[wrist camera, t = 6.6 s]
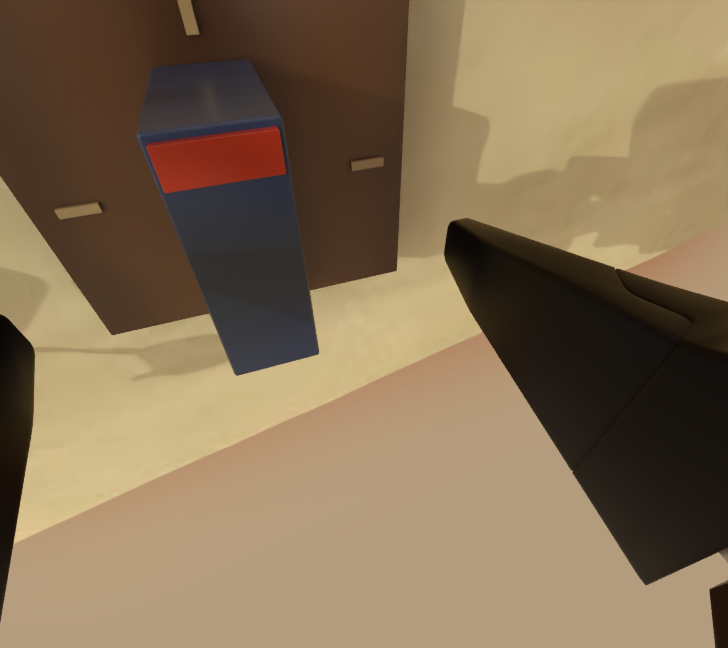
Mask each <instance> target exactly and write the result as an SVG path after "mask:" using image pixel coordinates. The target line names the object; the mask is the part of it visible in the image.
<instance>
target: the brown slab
mask: <svg viewBox="0 0 728 648" xmlns="http://www.w3.org/2000/svg"><path fill="white" fill-rule="evenodd" d="M408 10H409V0H0V176H1V177H2V179H3V180H4V182H5V183H6V185H7V186H8V187H9V189H10V190H11V192H12V193H13V195H14V196H15V197H16V199H17V200H18V202H19V203H20V205H21V206H22V207H23V209H24V210H25V212H26V213H27V215H28V216H29V217H30V219H31V220H32V222H33V223H34V225H35V226H36V227H37V229H38V230H39V232H40V233H41V235H42V236H43V238H44V239H45V240H46V242H47V243H48V245H49V246H50V248H51V249H52V250H53V252H54V253H55V255H56V256H57V258H58V259H59V260H60V262H61V263H62V265H63V266H64V268H65V269H66V270H67V272H68V273H69V275H70V276H71V278H72V279H73V280H74V282H75V283H76V285H77V286H78V288H79V289H80V290H81V292H82V293H83V295H84V296H85V298H86V299H87V301H88V302H89V303H90V305H91V306H92V308H93V309H94V311H95V312H96V313H97V315H98V316H99V318H100V319H101V321H102V322H103V323H104V325H105V326H106V328H107V329H108V331H109V332H110V333H111V335H116V334H120V333H124V332H129V331H133V330H138V329H142V328H146V327H151V326H155V325H160V324H164V323H169V322H173V321H177V320H182V319H186V318H191V317H195V316H199V315H204V314H208V313H209V311H208V308H207V306H206V303H205V301H204V299H203V296H202V294H201V291H200V289H199V287H198V284H197V282H196V279H195V277H194V275H193V272H192V270H191V267H190V265H189V262H188V260H187V258H186V255H185V253H184V250H183V248H182V246H181V243H180V241H179V238H178V236H177V234H176V231H175V229H174V226H173V224H172V221H171V219H170V217H169V214H168V212H167V209H166V207H165V205H164V202H163V200H162V197H161V195H160V192H159V190H158V188H157V185H156V183H155V180H154V178H153V176H152V173H151V171H150V168H149V166H148V164H147V161H146V159H145V156H144V154H143V151H142V149H141V147H140V144H139V142H138V139H137V137H136V133H137V129H138V124H139V120H140V115H141V111H142V106H143V102H144V97H145V93H146V89H147V84H148V80H149V75H150V71H151V68H153V67H162V66H173V65H183V64H194V63H204V62H215V61H225V60H236V59H246V58H247V59H249V60H250V62H251V63H252V65H253V67H254V69H255V70H256V72H257V74H258V76H259V77H260V79H261V81H262V83H263V84H264V86H265V88H266V90H267V91H268V93H269V95H270V97H271V98H272V100H273V102H274V104H275V105H276V107H277V109H278V111H279V112H280V114H281V116H282V118H283V123H284V130H285V136H286V143H287V149H288V156H289V162H290V168H291V175H292V181H293V188H294V194H295V200H296V207H297V213H298V220H299V226H300V232H301V239H302V245H303V252H304V258H305V264H306V271H307V277H308V284H309V290H314V289H318V288H323V287H327V286H331V285H336V284H340V283H345V282H349V281H353V280H358V279H362V278H367V277H371V276H375V275H380V274H384V273H389V272H393V271H397V252H398V230H399V208H400V186H401V164H402V142H403V120H404V98H405V76H406V54H407V32H408Z"/></svg>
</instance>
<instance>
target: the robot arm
mask: <svg viewBox="0 0 728 648" xmlns="http://www.w3.org/2000/svg"><path fill="white" fill-rule="evenodd" d="M444 256H445V261H446V263H447V265H448V267H449V269H450V271H451V273H452V275H453V278H454V280H455V282H456V284H457V286H458V288H459V290H460V292H461V294H462V296H463V298H464V300H465V303H466V304H467V306H468V308H469V310H470V312H471V313H472V315H473V317H474V318H475V320H476V322H477V323H478V325H479V326H480V328H481V329H482V331H483V333H484V334H485V335H486V337H487V339H488V340H489V342H490V344H491V345H492V347H493V348H494V349H495V351H496V353H497V355H498V356H499V358H500V359H501V361H502V362H503V364H504V365H505V367H506V369H507V370H508V372H509V373H510V375H511V376H512V378H513V380H514V381H515V383H516V384H517V386H518V388H519V389H520V391H521V392H522V393H523V395H524V397H525V399H526V400H527V402H528V403H529V405H530V406H531V408H532V409H533V411H534V413H535V414H536V416H537V417H538V419H539V421H540V422H541V424H542V425H543V427H544V428H545V430H546V431H547V433H548V435H549V436H550V438H551V439H552V441H553V443H554V444H555V446H556V447H557V449H558V450H559V452H560V454H561V455H562V457H563V458H564V460H565V461H566V463H567V464H568V466H569V468H570V469H571V470H572V471H573V474H574V476H575V477H576V479H577V481H578V482H579V484H580V485H581V487H582V488H583V490H584V492H585V493H586V495H587V496H588V498H589V499H590V501H591V503H592V504H593V506H594V507H595V509H596V510H597V512H598V514H599V515H600V517H601V518H602V520H603V521H604V523H605V525H606V526H607V528H608V529H609V531H610V532H611V534H612V536H613V537H614V538H615V540H616V542H617V543H618V545H619V547H620V548H621V550H622V551H623V553H624V554H625V556H626V557H627V559H628V561H629V562H630V564H631V565H632V567H633V568H634V570H635V572H636V573H637V574H638V576H639V577H640V579H641V580H642V581H643V583H644V584H645V585H648V584H650V583H653V582H655V581H657V580H659V579H661V578H663V577H666V576H667V575H670V574H672V573H674V572H676V571H678V570H681V569H683V568H685V567H687V566H689V565H691V564H693V563H695V562H698V561H700V560H702V559H704V558H707V557H709V556H711V555H713V554H715V553H717V552H719V553H720V554H721V556H722V557H723V558H724V559H725V560H726V561H727V562H728V302H726V301H723V300H719V299H716V298H712V297H708V296H705V295H701V294H698V293H694V292H691V291H687V290H684V289H680V288H677V287H674V286H670V285H666V284H664V283H660V282H657V281H654V280H651V279H648V278H645V277H641V276H639V275H635V274H632V273H630V272H627V271H624V270H621V269H616V270H615V268H614V267H611V266H608V265H606V264H603V263H600V262H597V261H594V260H591V259H588V258H585V257H582V256H579V255H576V254H573V253H570V252H567V251H564V250H561V249H558V248H555V247H552V246H549V245H546V244H543V243H540V242H537V241H534V240H531V239H528V238H525V237H522V236H519V235H516V234H513V233H510V232H507V231H504V230H501V229H499V228H496V227H493V226H490V225H487V224H484V223H481V222H478V221H475V220H472V219H469V218H464V219H459V220H455V221H452V222H451V223H450V224H449V226H448V230H447V237H446V243H445V250H444ZM34 371H35V353H34V349H33V347H32V345H31V343H30V342H29V341H28V340H27V339H26V338H25V336H24V335H23V334H22V333H21V332H20V331H19V330H18V329H17V328H16V327H15V326H14V325H13V324H12V322H11V321H10V320H9V319H8V318H6V317H5V316H3V315H1V314H0V621H1V615H2V608H3V603H4V597H5V591H6V584H7V579H8V573H9V567H10V560H11V554H12V549H13V543H14V537H15V531H16V525H17V519H18V513H19V507H20V501H21V495H22V488H23V482H24V476H25V470H26V464H27V458H28V452H29V446H30V440H31V434H32V426H33V413H34ZM710 600H711V609H712V619H713V628H714V638H715V648H728V580H727V581H725V582H723V583H721V584H719V585H717V586H715V587H713V588H711V589H710Z"/></svg>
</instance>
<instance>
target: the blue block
mask: <svg viewBox="0 0 728 648" xmlns="http://www.w3.org/2000/svg"><path fill="white" fill-rule="evenodd" d="M136 137H137V139H138V142H139V144H140V147H141V149H142V151H143V154H144V156H145V159H146V161H147V164H148V166H149V168H150V171H151V173H152V176H153V178H154V180H155V183H156V185H157V188H158V190H159V192H160V195H161V197H162V200H163V202H164V205H165V207H166V209H167V212H168V214H169V217H170V219H171V221H172V224H173V226H174V229H175V231H176V234H177V236H178V238H179V241H180V243H181V246H182V248H183V250H184V253H185V255H186V258H187V260H188V262H189V265H190V267H191V270H192V272H193V275H194V277H195V279H196V282H197V284H198V287H199V289H200V291H201V294H202V296H203V299H204V301H205V303H206V306H207V308H208V311H209V313H210V316H211V318H212V320H213V323H214V325H215V328H216V330H217V332H218V335H219V337H220V340H221V342H222V345H223V347H224V349H225V352H226V354H227V357H228V359H229V361H230V364H231V366H232V369H233V371H234V373H235V375H237V376H238V375H242V374H246V373H250V372H253V371H257V370H261V369H265V368H269V367H272V366H276V365H280V364H284V363H288V362H291V361H295V360H299V359H303V358H307V357H311V356H314V355H318V354H319V348H318V341H317V335H316V328H315V322H314V316H313V309H312V303H311V296H310V290H309V284H308V277H307V271H306V264H305V258H304V252H303V245H302V239H301V232H300V226H299V220H298V213H297V207H296V200H295V194H294V188H293V181H292V175H291V168H290V162H289V156H288V149H287V143H286V136H285V130H284V123H283V118H282V116H281V114H280V112H279V111H278V109H277V107H276V105H275V104H274V102H273V100H272V98H271V97H270V95H269V93H268V91H267V90H266V88H265V86H264V84H263V83H262V81H261V79H260V77H259V76H258V74H257V72H256V70H255V69H254V67H253V65H252V63H251V62H250V60H249V59H247V58H246V59H236V60H225V61H215V62H204V63H194V64H183V65H173V66H162V67H153V68H151V71H150V75H149V80H148V84H147V89H146V93H145V97H144V102H143V106H142V111H141V115H140V120H139V124H138V129H137V133H136Z"/></svg>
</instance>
